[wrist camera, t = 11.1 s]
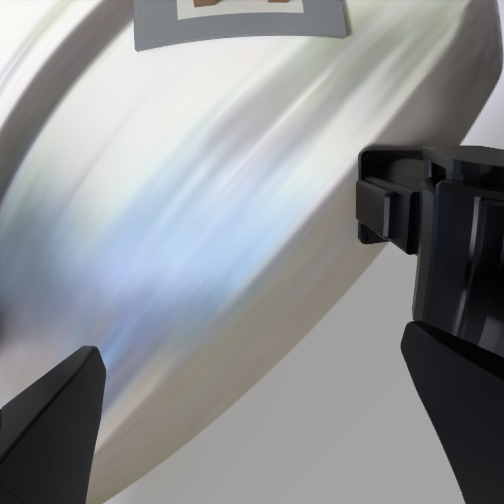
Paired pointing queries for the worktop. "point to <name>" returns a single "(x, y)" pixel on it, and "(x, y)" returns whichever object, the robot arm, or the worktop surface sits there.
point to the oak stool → (209, 0)
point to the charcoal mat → (233, 20)
